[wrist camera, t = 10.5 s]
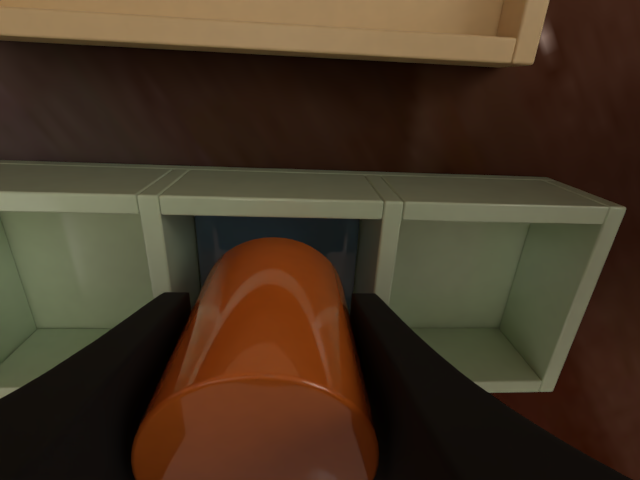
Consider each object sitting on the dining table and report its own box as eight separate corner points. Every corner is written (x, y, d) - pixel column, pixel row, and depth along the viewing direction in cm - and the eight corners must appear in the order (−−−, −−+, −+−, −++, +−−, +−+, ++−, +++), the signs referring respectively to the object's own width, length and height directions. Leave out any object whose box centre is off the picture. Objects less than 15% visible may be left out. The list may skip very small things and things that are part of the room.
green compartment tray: (547, 176, 12) (628, 207, 9) (500, 329, 15) (553, 392, 12) (-21, 158, 11) (-141, 187, 8) (35, 330, 14) (-39, 401, 11)
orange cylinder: (349, 237, 10) (395, 374, 5) (339, 354, 11) (368, 537, 7) (197, 234, 9) (105, 376, 5) (209, 354, 11) (148, 547, 6)
